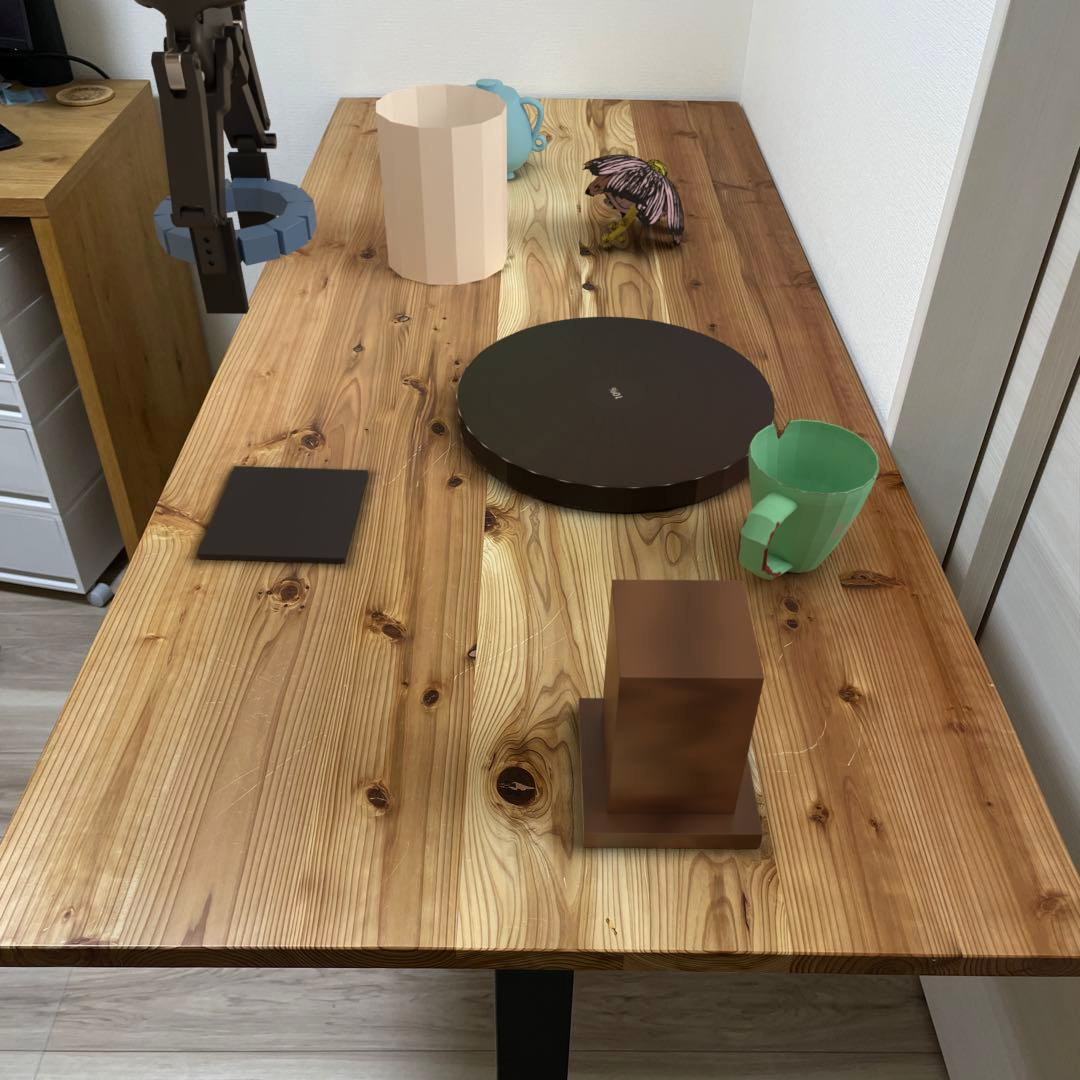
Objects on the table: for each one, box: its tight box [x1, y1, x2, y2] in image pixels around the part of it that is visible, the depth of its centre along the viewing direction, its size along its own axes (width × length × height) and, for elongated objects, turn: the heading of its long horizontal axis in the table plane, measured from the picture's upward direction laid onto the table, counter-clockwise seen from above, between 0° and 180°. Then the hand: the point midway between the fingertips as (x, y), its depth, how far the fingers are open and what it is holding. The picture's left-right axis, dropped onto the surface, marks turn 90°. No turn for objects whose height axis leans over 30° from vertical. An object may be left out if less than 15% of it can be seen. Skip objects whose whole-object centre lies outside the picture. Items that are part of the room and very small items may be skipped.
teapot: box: [466, 78, 548, 180], centre depth 148 cm, size 20×17×12 cm
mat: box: [196, 465, 369, 564], centre depth 91 cm, size 12×12×1 cm
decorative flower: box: [582, 153, 685, 250], centre depth 130 cm, size 15×12×15 cm
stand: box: [577, 578, 765, 849], centre depth 66 cm, size 11×11×14 cm
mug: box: [736, 419, 880, 581], centre depth 83 cm, size 15×10×10 cm
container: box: [375, 83, 509, 286], centre depth 124 cm, size 14×14×18 cm
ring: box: [152, 178, 318, 266], centre depth 74 cm, size 11×11×2 cm
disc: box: [455, 315, 776, 513], centre depth 102 cm, size 30×30×3 cm
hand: (245, 273), depth 77 cm, fingers closed on ring, 11 cm apart
